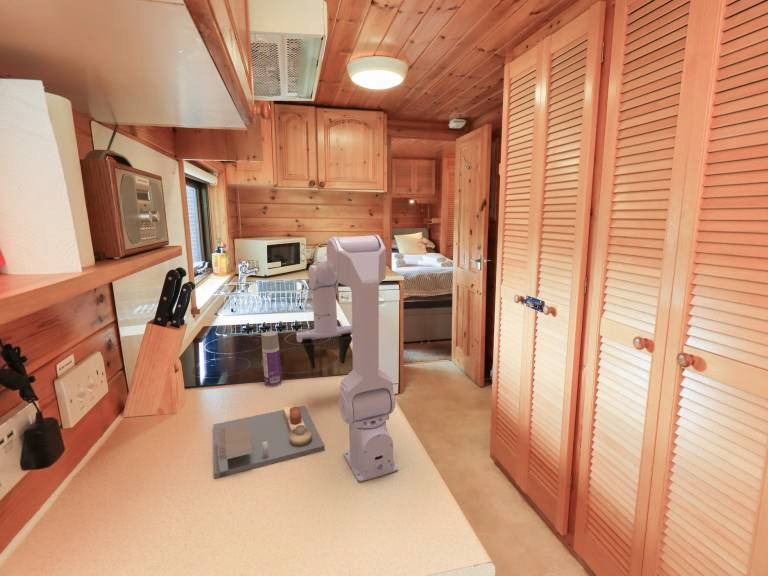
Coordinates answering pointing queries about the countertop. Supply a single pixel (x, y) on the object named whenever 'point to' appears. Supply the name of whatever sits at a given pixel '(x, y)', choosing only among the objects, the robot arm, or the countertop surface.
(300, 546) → the countertop surface
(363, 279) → the robot arm
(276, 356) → the container
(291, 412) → the latch
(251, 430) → the board
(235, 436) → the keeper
